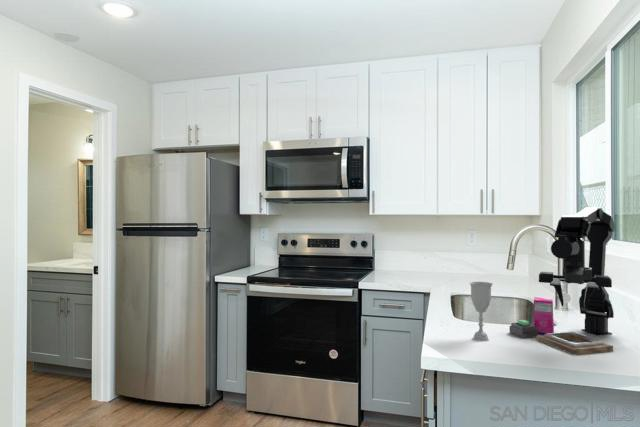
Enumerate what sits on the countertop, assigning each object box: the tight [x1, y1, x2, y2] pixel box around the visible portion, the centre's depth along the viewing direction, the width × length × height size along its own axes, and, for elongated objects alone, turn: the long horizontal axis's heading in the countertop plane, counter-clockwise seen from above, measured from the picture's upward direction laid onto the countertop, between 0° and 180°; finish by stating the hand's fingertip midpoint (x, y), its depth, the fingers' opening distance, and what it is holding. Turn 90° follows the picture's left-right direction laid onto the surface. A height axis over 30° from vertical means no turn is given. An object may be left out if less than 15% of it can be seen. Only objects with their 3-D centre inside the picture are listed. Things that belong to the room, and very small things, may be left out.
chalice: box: [469, 281, 493, 342], centre depth 131 cm, size 7×7×18 cm
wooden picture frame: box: [536, 330, 614, 355], centre depth 125 cm, size 14×14×2 cm
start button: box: [517, 319, 530, 326], centre depth 136 cm, size 3×3×1 cm
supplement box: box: [533, 296, 555, 335], centre depth 139 cm, size 6×6×12 cm
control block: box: [509, 322, 539, 339], centre depth 136 cm, size 6×6×4 cm
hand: (573, 307), depth 125 cm, fingers open, 5 cm apart
